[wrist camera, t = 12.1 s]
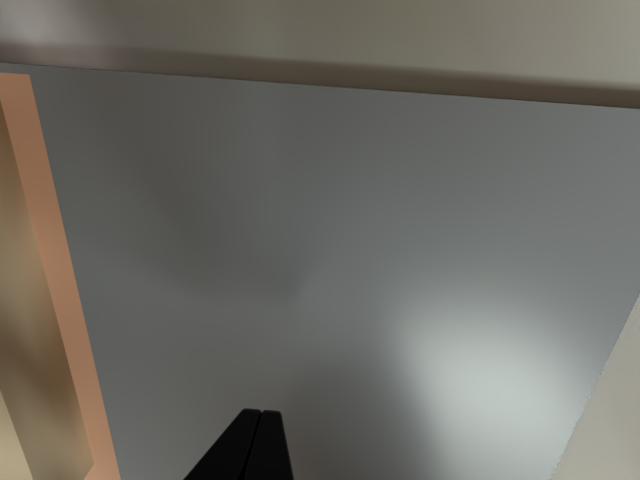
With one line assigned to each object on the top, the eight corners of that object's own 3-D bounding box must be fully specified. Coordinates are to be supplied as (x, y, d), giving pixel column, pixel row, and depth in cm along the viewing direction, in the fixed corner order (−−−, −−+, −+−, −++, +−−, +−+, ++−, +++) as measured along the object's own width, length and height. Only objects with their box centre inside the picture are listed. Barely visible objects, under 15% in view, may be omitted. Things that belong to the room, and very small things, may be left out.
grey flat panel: (519, 518, 13) (525, 530, 12) (-250, 440, 13) (-267, 450, 13) (706, 114, 7) (725, 115, 7) (-581, 20, 8) (-625, 16, 8)
